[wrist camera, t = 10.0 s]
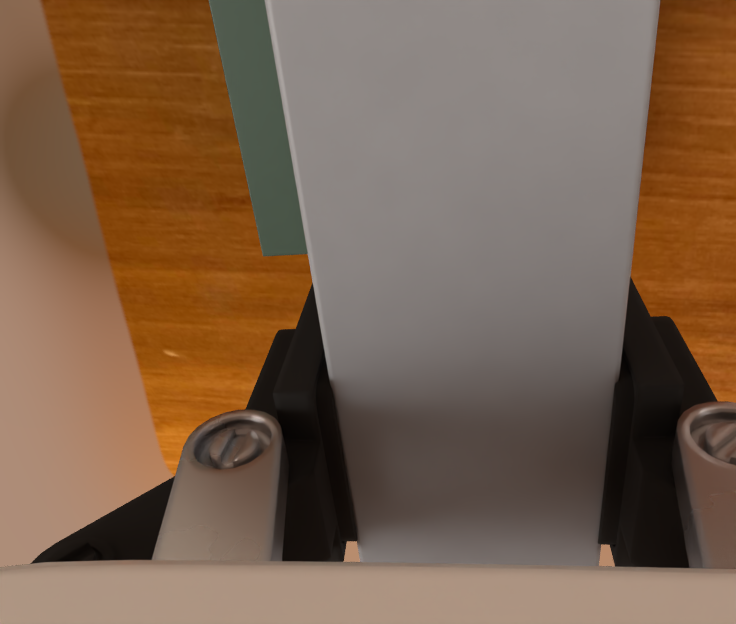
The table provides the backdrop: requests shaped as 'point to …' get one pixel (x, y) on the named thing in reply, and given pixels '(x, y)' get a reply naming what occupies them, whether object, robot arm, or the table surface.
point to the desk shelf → (260, 123)
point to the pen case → (470, 257)
